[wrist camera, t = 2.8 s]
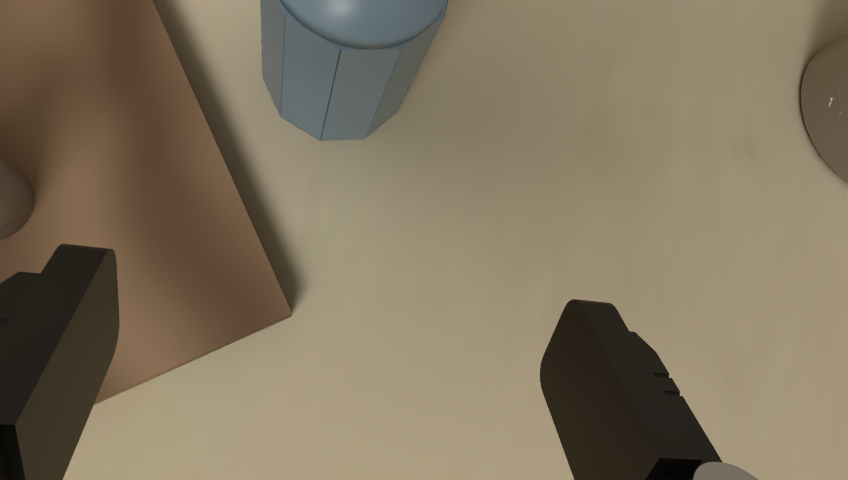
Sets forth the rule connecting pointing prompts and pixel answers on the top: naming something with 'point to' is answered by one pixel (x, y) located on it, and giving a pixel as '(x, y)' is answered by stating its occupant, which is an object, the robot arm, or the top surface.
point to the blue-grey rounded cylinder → (344, 60)
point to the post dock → (125, 181)
